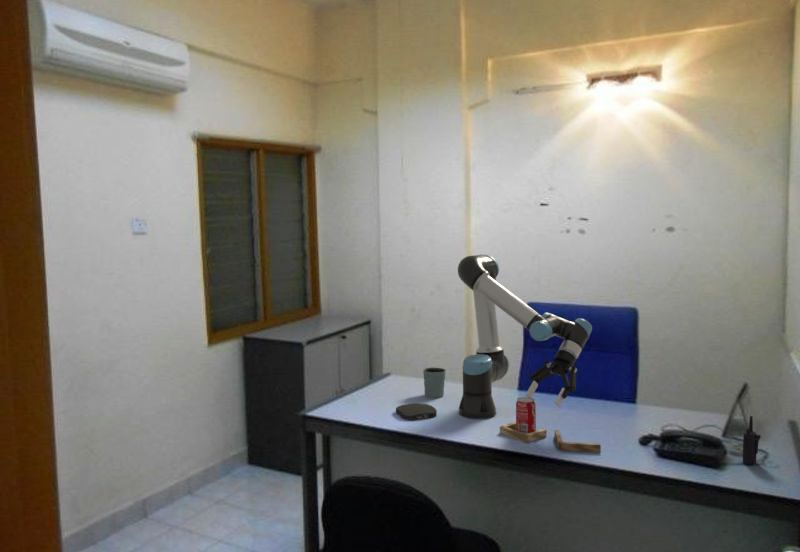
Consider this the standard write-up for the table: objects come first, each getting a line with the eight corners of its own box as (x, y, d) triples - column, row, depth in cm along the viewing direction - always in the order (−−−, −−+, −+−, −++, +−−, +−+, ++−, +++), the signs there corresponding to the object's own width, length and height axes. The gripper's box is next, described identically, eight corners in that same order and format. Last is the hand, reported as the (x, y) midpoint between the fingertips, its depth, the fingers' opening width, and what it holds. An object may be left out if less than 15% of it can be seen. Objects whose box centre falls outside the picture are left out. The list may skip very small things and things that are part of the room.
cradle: (556, 436, 219) (556, 429, 219) (602, 451, 204) (602, 444, 204) (537, 442, 213) (537, 435, 213) (583, 458, 198) (583, 451, 198)
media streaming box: (425, 408, 257) (425, 401, 256) (439, 417, 243) (439, 410, 243) (393, 412, 251) (393, 405, 251) (406, 422, 238) (406, 414, 238)
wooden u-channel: (519, 427, 229) (519, 420, 229) (546, 436, 219) (546, 429, 219) (499, 433, 223) (499, 426, 223) (526, 442, 213) (526, 436, 212)
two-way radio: (746, 459, 196) (748, 413, 195) (761, 462, 193) (763, 416, 192) (740, 463, 192) (742, 417, 191) (756, 467, 189) (758, 420, 188)
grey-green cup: (418, 395, 274) (418, 369, 273) (434, 391, 281) (434, 366, 280) (434, 400, 267) (434, 373, 266) (450, 395, 274) (450, 369, 273)
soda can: (536, 437, 218) (536, 402, 217) (515, 436, 219) (515, 401, 218) (535, 431, 225) (535, 397, 224) (515, 430, 226) (516, 396, 225)
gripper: (599, 365, 223) (574, 413, 216) (546, 355, 243) (521, 399, 236) (591, 353, 220) (565, 402, 212) (537, 344, 240) (512, 388, 232)
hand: (542, 400), depth 224 cm, fingers open, 13 cm apart
